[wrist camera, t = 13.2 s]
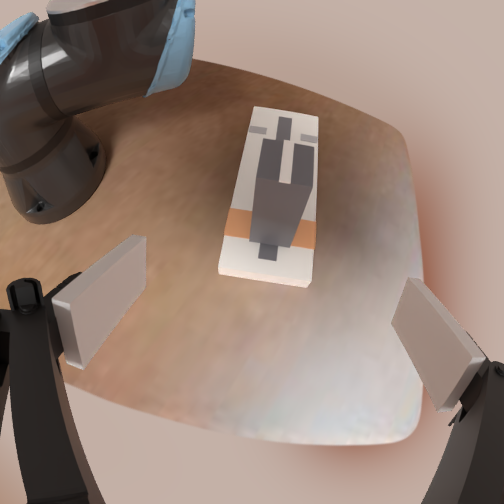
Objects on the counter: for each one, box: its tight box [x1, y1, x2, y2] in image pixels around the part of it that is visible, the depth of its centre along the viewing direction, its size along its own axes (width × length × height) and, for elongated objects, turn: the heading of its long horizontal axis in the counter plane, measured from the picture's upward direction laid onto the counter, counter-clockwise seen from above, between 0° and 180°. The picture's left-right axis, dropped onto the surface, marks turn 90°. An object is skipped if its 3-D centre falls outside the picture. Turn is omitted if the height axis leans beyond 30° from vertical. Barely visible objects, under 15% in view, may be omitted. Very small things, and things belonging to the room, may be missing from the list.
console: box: [218, 106, 318, 288], centre depth 35 cm, size 24×9×2 cm, turn 172°
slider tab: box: [249, 138, 314, 248], centre depth 26 cm, size 4×4×10 cm
